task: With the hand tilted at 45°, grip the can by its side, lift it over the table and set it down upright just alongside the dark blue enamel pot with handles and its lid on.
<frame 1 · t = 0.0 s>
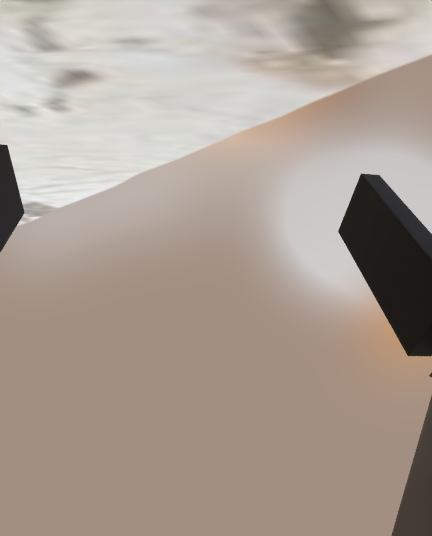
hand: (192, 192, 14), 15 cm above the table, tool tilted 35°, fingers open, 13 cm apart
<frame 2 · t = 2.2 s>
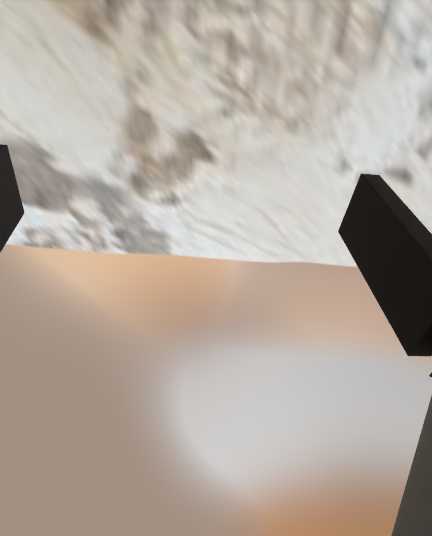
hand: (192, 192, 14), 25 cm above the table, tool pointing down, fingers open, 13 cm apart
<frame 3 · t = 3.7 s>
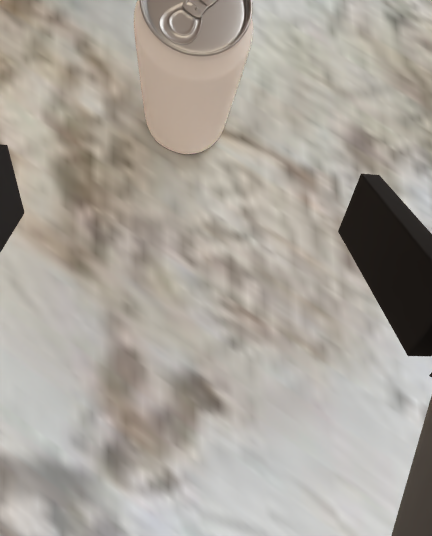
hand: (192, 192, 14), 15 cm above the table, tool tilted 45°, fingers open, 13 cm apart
can: (185, 118, 30), on the table
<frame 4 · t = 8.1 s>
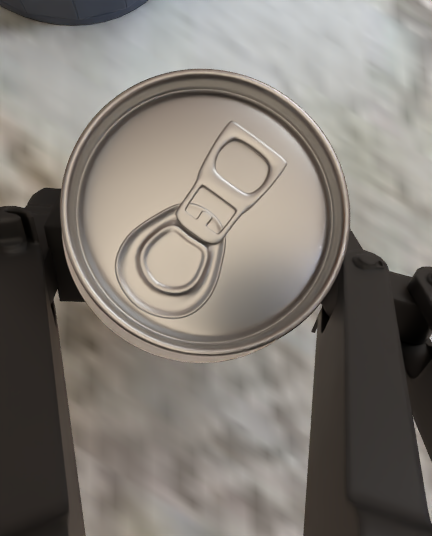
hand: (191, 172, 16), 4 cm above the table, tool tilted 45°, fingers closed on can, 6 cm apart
can: (184, 264, 19), on the table, touching gripper
when the fingers open (4 cm above the table, at t = 19.6 s): can stays where it is, on the table.
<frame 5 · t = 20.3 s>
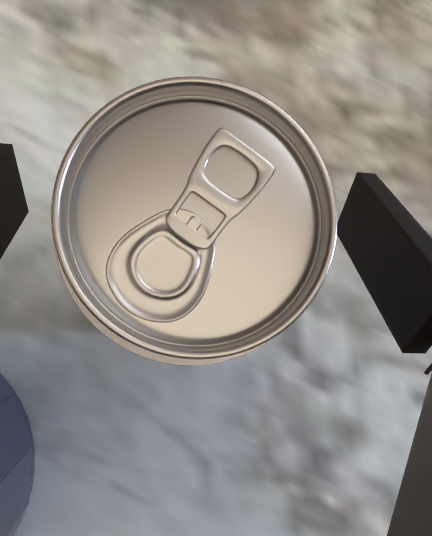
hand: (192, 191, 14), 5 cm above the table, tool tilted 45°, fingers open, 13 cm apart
can: (178, 266, 19), on the table
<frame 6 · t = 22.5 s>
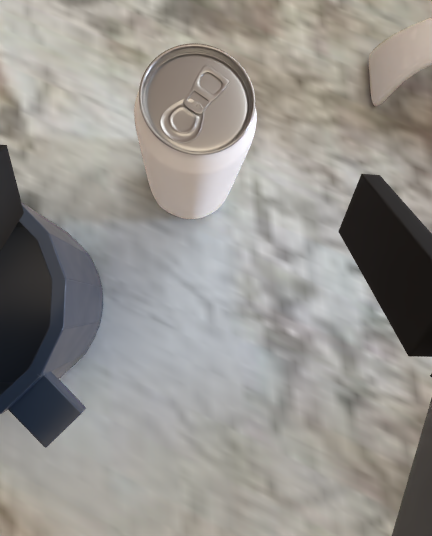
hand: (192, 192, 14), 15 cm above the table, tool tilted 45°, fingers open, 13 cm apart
can: (190, 181, 30), on the table
pot: (15, 303, 27), on the table
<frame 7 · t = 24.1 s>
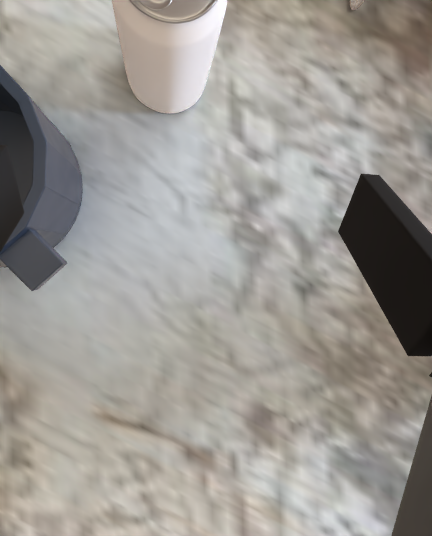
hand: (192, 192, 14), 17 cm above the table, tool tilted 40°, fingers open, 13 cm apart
can: (167, 76, 30), on the table
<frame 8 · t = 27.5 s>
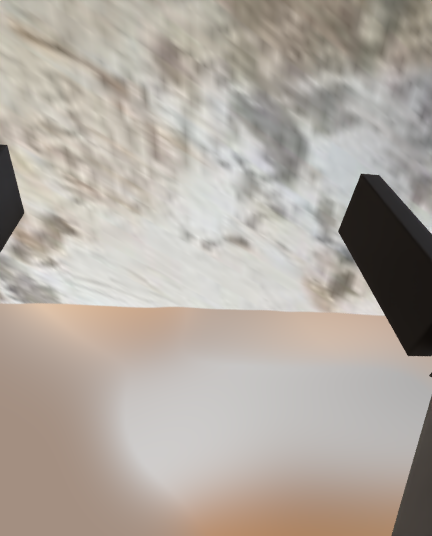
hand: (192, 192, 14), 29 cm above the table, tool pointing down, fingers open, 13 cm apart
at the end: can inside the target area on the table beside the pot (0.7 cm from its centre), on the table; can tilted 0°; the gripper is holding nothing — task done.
